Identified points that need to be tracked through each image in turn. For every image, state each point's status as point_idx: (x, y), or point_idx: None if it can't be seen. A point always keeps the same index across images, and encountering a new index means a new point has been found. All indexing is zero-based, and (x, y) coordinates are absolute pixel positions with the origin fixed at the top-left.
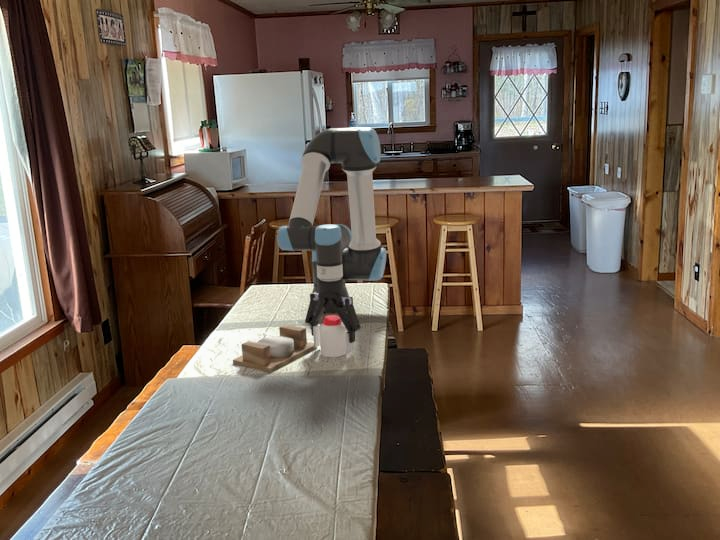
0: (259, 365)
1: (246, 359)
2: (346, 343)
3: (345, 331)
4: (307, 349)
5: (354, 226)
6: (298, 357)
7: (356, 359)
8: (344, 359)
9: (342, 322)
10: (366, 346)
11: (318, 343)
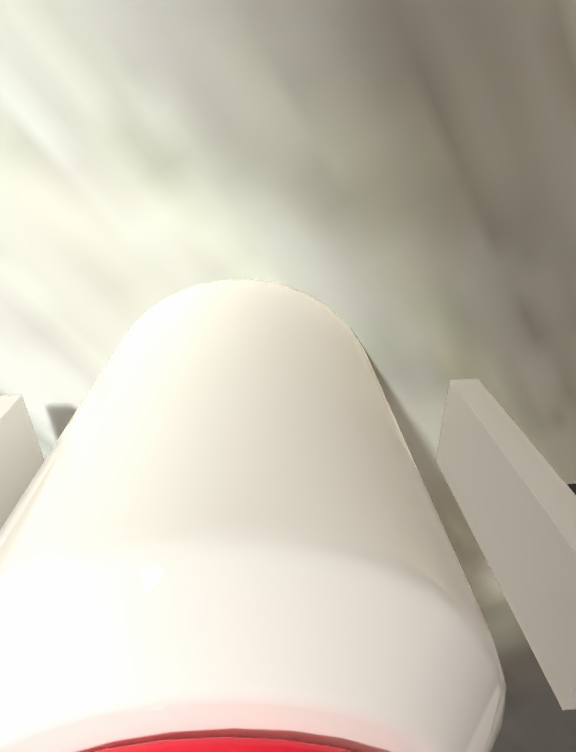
0: None
1: None
2: (488, 546)
3: (454, 554)
4: None
5: None
6: None
7: (532, 432)
8: (428, 476)
9: (415, 715)
10: (506, 19)
11: (21, 458)
